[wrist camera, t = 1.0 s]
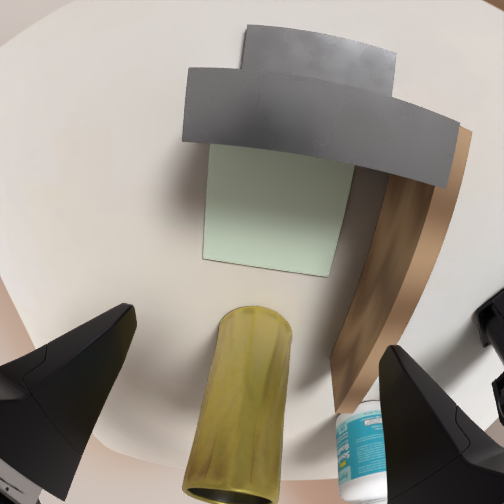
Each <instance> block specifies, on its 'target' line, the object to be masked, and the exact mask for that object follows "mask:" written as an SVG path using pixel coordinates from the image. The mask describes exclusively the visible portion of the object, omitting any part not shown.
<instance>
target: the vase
mask: <svg viewBox="0 0 504 504" xmlns="http://www.w3.org/2000/svg"><path fill="white" fill-rule="evenodd" d="M291 341H292V330H291V327H290V325H289V324H288V322H287V321H286V320H285V319H284V318H283V317H282V316H281V315H279V314H278V313H277V312H275V311H273V310H270V309H267V308H264V307H259V306H247V307H241V308H238V309H235V310H233V311H231V312H229V313H228V314H227V315H226V316H225V317H224V318H223V319H222V320H221V322H220V325H219V335H218V340H217V345H216V350H215V354H214V358H213V361H212V365H211V369H210V373H209V377H208V381H207V386H206V390H205V394H204V398H203V402H202V406H201V411H200V415H199V420H198V424H197V428H196V433H195V437H194V441H193V445H192V449H191V453H190V457H189V461H188V464H187V468H186V472H185V476H184V481H183V486H182V490H183V491H184V492H185V493H186V494H187V495H188V496H191V497H193V498H195V499H198V500H201V501H204V502H208V503H211V504H277V503H278V500H279V491H280V475H281V459H282V447H283V428H284V411H285V403H286V393H287V383H288V374H289V361H290V348H291Z"/></svg>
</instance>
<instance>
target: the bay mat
mask: <svg viewBox="0 0 504 504" xmlns="http://www.w3.org/2000/svg"><path fill="white" fill-rule="evenodd" d="M354 168H355V165H352V164H348V163H343V162H338V161H333V160H328V159H322V158H317V157H311V156H305V155H299V154H293V153H287V152H280V151H273V150H266V149H258V148H250V147H241V146H231V145H221V144H210V148H209V161H208V174H207V189H206V206H205V225H204V248H203V259H209V260H216V261H222V262H229V263H235V264H242V265H248V266H255V267H262V268H269V269H275V270H282V271H289V272H296V273H303V274H310V275H317V276H324V277H328V276H329V272H330V269H331V265H332V261H333V257H334V254H335V250H336V246H337V242H338V238H339V234H340V230H341V226H342V222H343V218H344V214H345V209H346V205H347V201H348V196H349V192H350V187H351V182H352V177H353V173H354Z"/></svg>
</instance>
